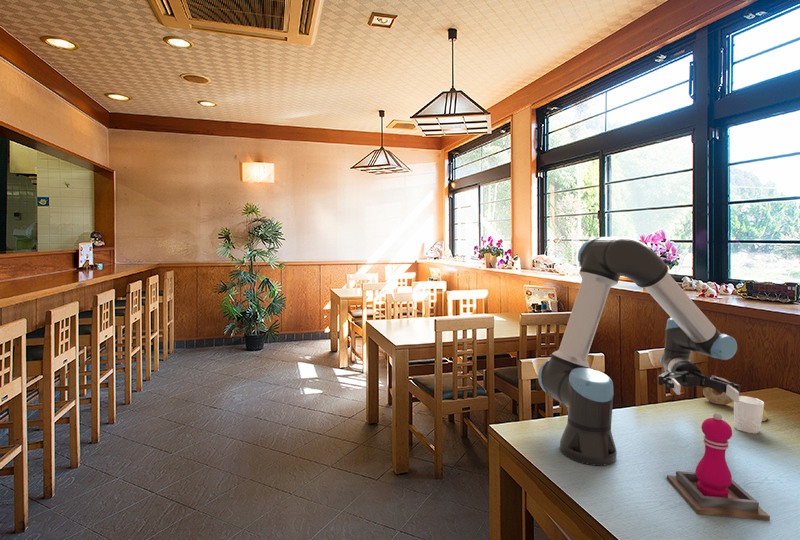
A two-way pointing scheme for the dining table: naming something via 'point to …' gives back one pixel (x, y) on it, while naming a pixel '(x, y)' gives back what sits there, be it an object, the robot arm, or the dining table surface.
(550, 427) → the dining table surface
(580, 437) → the robot arm
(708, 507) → the cruet board
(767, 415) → the bread roll
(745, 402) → the white cup
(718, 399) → the stone disc
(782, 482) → the dining table surface
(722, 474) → the pepper mill
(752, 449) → the dining table surface
